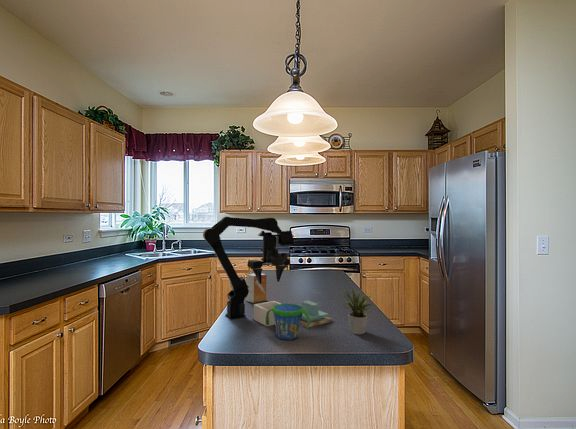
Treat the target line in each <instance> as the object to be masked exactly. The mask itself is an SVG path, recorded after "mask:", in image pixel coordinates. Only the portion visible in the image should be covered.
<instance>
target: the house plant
mask: <svg viewBox="0 0 576 429" xmlns="http://www.w3.org/2000/svg"><path fill="white" fill-rule="evenodd" d="M341 289H342V290H344V291H345V292H346V293H345V292H343V294H344V295H343V294H342V296H343V297H345V298H346V297H348V298H346V299H347V301H346V302H345V304H346V305H345V307H344V309H343V311H345V310H347V309H348V310H350V311H349V313H348V314H347V317H348V322H349V329H350V330H349V331H350V333H351V334H355V335H363V334H366V330H367V325H368V317H369V315H368V314H367V310H369V309H370V308H372V304H370V303H369V304H366V303H367V301H368V300H369V299H370V298H371V297H372V296H373V295H375V294H376V292H374V293H372V294H370V295H368V296H366V293H367V292H366V291H364V294H363V295H362V298H361V300H360V294H361V293H362V291H360V290H361V289H359V290H358V293H357V295H356V292H355V291H354V289H353V288H352V287H351V288H350V290H351V293H352V297H351V296H350V293H349V292H348V290H346V289H345V288H341ZM345 295H346V296H345ZM350 301H351V302H350ZM340 305H341V306H342V305H343V306H344V304H342V303H341V304H340ZM368 306H369V307H368ZM350 308H351V309H350Z"/></svg>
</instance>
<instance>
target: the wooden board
mask: <svg viewBox="0 0 576 429" xmlns="http://www.w3.org/2000/svg"><path fill="white" fill-rule="evenodd" d="M330 322H333V318H331V317H329V316H328V317H324V319H320V320H316V321H312V322H310V326H309V328H312V327H315V326H318V325H323V324H326V323H327V324H328V323H330ZM300 326H303V327H304V328H307V327H308V322H307V321H304V320H302V319H301V321H300Z"/></svg>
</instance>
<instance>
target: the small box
mask: <svg viewBox="0 0 576 429" xmlns="http://www.w3.org/2000/svg"><path fill="white" fill-rule="evenodd" d="M245 275H246V279H245V281H246V284H247V285H248V286H249V288H248V290H249V293H248V295H247V297H246V298H245V301H246V302H249V303H253V304H256V303H261V302H265V300H266V301H267V274H266V273H262V272H261V284H259V282H258V280H257V278H256V275H255V273H254V272H253V273H248V274H245Z"/></svg>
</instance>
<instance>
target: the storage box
mask: <svg viewBox="0 0 576 429" xmlns="http://www.w3.org/2000/svg"><path fill="white" fill-rule="evenodd" d="M278 304H282V303H281V302H278V301H275V300H271V301H267V302H265V301H264V302H259V303H253V320H254V321H256V322H258V323H260V324H262V325H263V326H265V327H269V326H273V325H275V319H274V313H273V311H272V310H271V311H270V312H269V315H268V317H269V324H268V325H266V314H267V312H268V310H269V309H271V308H272V307H274V306H275V305H278Z"/></svg>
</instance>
